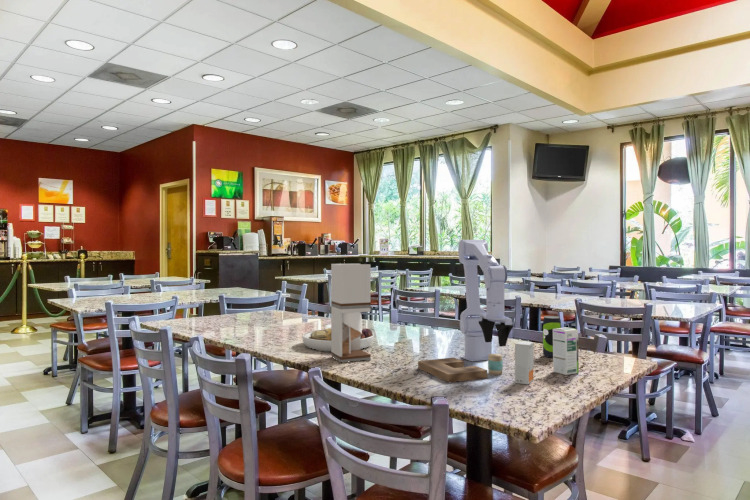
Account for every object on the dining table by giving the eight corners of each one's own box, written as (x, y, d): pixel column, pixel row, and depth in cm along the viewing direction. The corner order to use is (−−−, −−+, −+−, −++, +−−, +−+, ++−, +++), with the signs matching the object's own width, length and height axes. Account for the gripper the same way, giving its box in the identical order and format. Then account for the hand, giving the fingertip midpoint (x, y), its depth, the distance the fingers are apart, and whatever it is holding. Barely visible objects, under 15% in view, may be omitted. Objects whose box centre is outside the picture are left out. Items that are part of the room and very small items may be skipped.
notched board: (453, 364, 180) (453, 357, 180) (487, 378, 161) (487, 370, 161) (418, 368, 174) (418, 361, 174) (448, 382, 156) (448, 374, 156)
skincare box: (528, 385, 153) (528, 345, 153) (514, 383, 156) (514, 343, 155) (534, 380, 158) (534, 341, 158) (520, 378, 161) (520, 340, 161)
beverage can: (558, 354, 196) (558, 315, 195) (562, 358, 189) (562, 318, 189) (541, 354, 196) (541, 315, 196) (545, 358, 190) (545, 317, 190)
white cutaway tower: (341, 363, 182) (340, 264, 182) (331, 357, 192) (331, 263, 192) (370, 360, 187) (370, 264, 186) (359, 354, 196) (359, 263, 196)
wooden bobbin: (496, 371, 170) (496, 353, 170) (505, 374, 166) (505, 356, 166) (485, 372, 168) (485, 354, 168) (493, 375, 164) (493, 357, 164)
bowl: (292, 352, 203) (292, 332, 202) (314, 338, 232) (314, 321, 232) (367, 354, 198) (367, 334, 198) (379, 340, 227) (379, 323, 227)
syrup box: (566, 375, 164) (566, 330, 164) (552, 371, 170) (552, 327, 170) (579, 373, 167) (579, 329, 167) (564, 369, 172) (564, 326, 172)
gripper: (472, 300, 172) (472, 341, 172) (498, 305, 159) (498, 349, 159) (489, 300, 175) (489, 339, 175) (517, 304, 162) (517, 347, 162)
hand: (495, 344), depth 167 cm, fingers open, 7 cm apart
